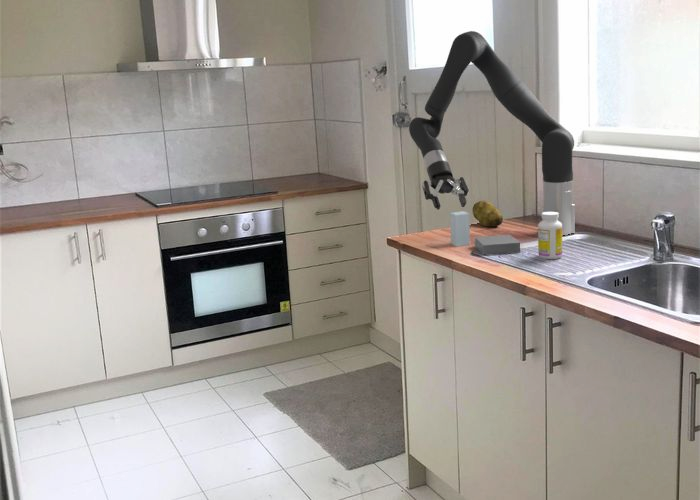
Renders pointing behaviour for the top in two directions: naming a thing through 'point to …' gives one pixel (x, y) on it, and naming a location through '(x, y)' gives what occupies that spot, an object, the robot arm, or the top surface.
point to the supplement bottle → (550, 236)
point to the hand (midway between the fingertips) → (451, 206)
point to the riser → (497, 244)
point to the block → (460, 228)
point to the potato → (487, 214)
